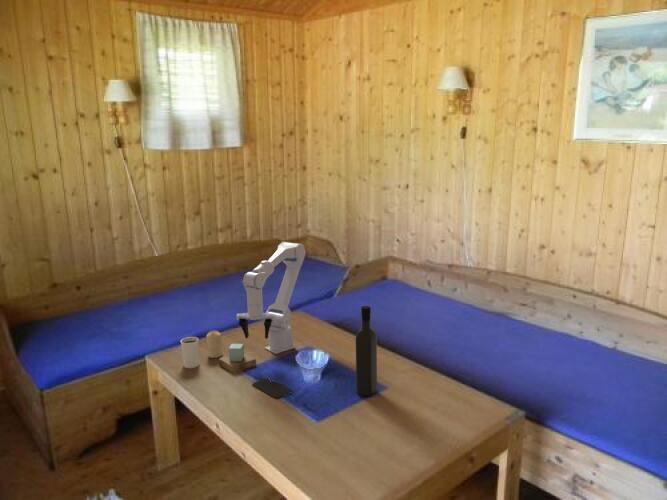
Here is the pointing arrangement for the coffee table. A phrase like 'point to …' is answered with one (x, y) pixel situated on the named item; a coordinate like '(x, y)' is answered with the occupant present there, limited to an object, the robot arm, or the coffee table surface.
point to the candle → (214, 344)
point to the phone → (271, 388)
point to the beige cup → (190, 352)
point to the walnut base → (237, 363)
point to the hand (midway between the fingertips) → (256, 337)
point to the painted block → (236, 352)
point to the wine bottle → (366, 356)
